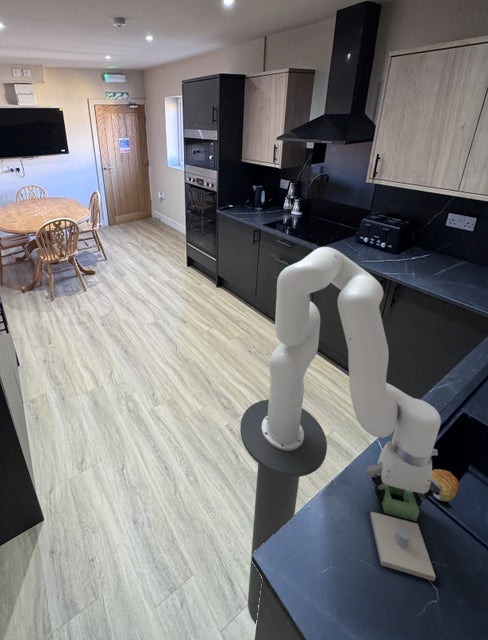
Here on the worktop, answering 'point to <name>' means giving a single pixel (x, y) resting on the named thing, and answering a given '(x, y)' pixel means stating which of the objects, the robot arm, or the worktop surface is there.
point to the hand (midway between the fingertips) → (396, 499)
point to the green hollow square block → (400, 503)
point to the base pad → (398, 554)
